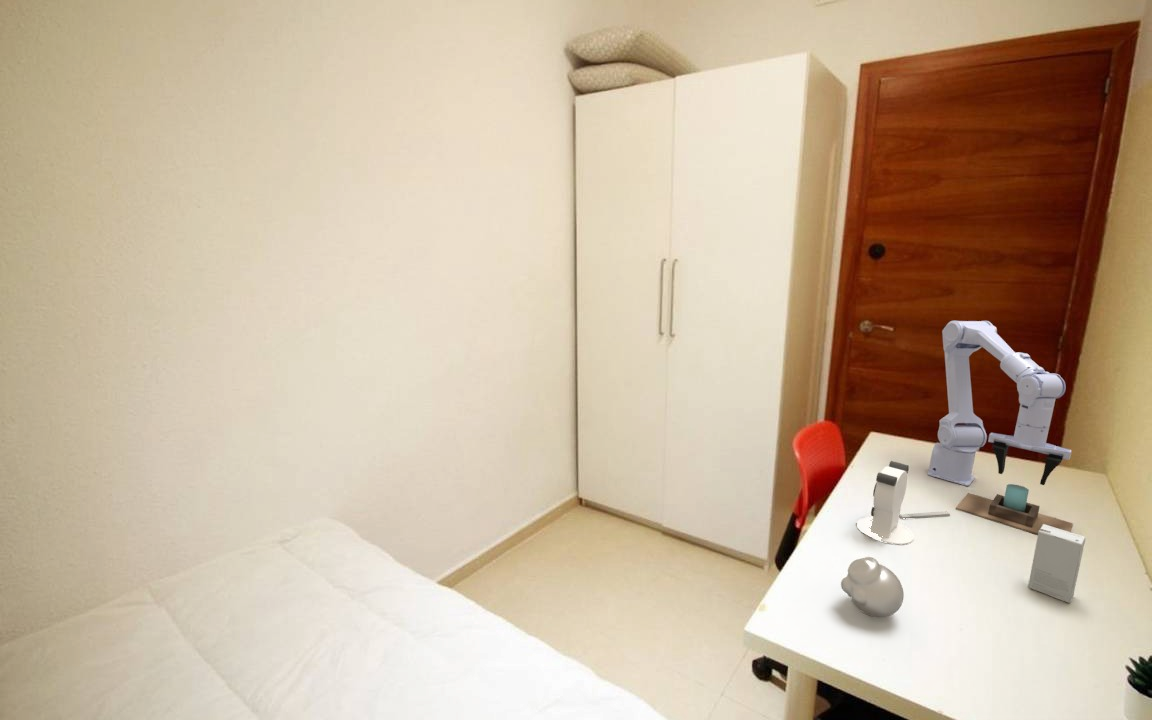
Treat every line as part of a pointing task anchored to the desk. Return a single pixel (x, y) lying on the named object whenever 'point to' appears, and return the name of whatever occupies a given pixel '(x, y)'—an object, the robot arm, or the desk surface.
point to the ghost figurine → (873, 588)
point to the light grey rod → (925, 515)
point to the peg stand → (1010, 514)
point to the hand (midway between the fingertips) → (1021, 478)
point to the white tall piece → (890, 504)
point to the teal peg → (1015, 497)
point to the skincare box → (1056, 562)
